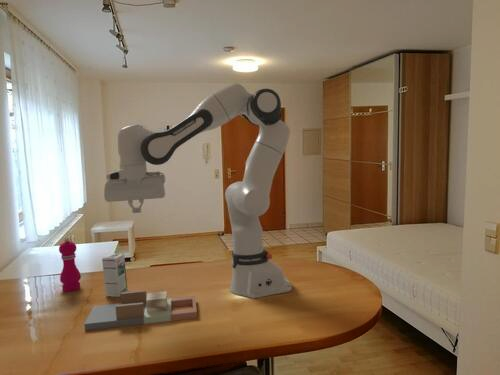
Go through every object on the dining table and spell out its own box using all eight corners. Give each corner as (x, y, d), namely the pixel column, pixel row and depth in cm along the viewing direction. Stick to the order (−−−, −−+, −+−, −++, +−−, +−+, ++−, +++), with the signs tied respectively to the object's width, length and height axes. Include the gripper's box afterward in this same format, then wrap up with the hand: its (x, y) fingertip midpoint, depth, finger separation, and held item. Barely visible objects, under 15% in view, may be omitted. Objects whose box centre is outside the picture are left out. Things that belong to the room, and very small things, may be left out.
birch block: (167, 302, 131) (166, 291, 131) (166, 310, 125) (165, 298, 125) (148, 304, 130) (147, 293, 130) (147, 312, 124) (146, 300, 124)
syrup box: (119, 297, 143) (116, 257, 141) (104, 296, 144) (101, 257, 142) (127, 291, 148) (124, 253, 146) (113, 290, 149) (110, 252, 148)
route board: (195, 301, 137) (194, 284, 136) (197, 317, 124) (196, 299, 123) (94, 311, 131) (92, 294, 130) (85, 330, 118) (83, 311, 117)
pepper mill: (61, 293, 148) (56, 241, 145) (60, 287, 154) (55, 237, 152) (82, 289, 151) (77, 238, 149) (80, 284, 157) (76, 234, 155)
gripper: (164, 170, 142) (167, 208, 144) (104, 174, 139) (108, 213, 140) (164, 171, 136) (167, 211, 138) (101, 175, 132) (105, 216, 134)
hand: (137, 212), depth 139 cm, fingers closed
